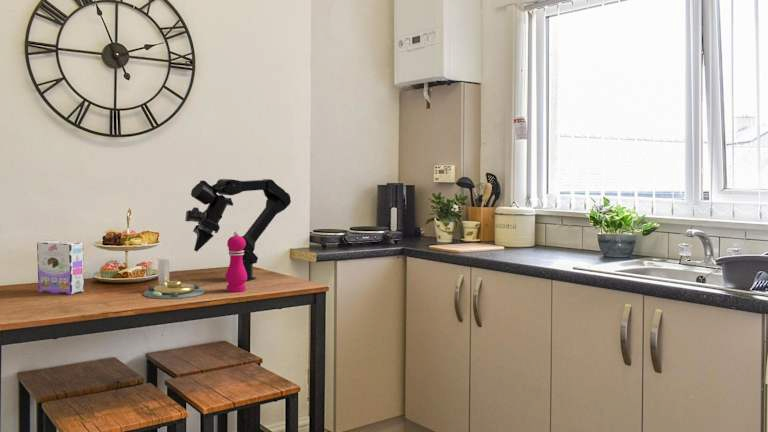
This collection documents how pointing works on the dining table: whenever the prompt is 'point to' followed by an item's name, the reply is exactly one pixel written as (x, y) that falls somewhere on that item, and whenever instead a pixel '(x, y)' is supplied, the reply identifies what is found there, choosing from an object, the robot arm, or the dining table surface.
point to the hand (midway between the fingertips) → (195, 250)
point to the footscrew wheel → (169, 285)
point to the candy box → (60, 267)
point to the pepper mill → (236, 264)
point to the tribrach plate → (173, 293)
